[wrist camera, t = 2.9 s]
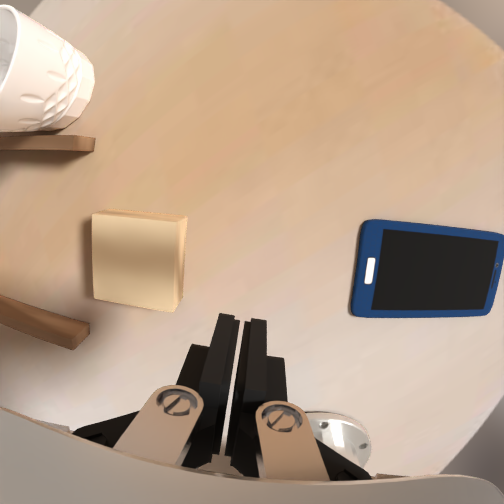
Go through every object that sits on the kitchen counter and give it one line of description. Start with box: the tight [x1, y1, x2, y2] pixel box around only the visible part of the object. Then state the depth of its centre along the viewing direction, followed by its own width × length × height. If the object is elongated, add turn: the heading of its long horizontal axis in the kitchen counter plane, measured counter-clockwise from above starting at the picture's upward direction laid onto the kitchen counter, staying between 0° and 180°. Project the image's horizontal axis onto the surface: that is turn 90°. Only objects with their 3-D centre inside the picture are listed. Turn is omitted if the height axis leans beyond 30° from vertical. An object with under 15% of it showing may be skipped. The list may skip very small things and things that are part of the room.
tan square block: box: [92, 209, 187, 313], centre depth 22 cm, size 6×6×3 cm
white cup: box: [0, 5, 95, 132], centre depth 15 cm, size 8×8×10 cm
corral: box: [0, 135, 95, 350], centre depth 21 cm, size 16×14×3 cm
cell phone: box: [351, 219, 504, 318], centre depth 22 cm, size 7×14×1 cm, turn 87°
